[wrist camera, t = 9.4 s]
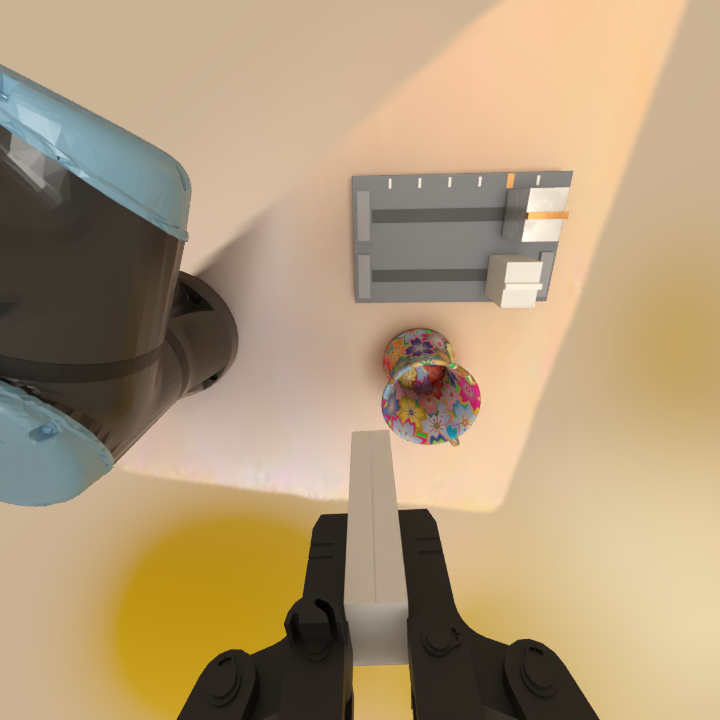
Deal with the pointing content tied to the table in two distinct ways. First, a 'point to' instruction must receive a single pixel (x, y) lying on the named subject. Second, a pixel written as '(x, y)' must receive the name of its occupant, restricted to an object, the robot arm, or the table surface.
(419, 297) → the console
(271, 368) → the table surface
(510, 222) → the fader
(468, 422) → the mug
